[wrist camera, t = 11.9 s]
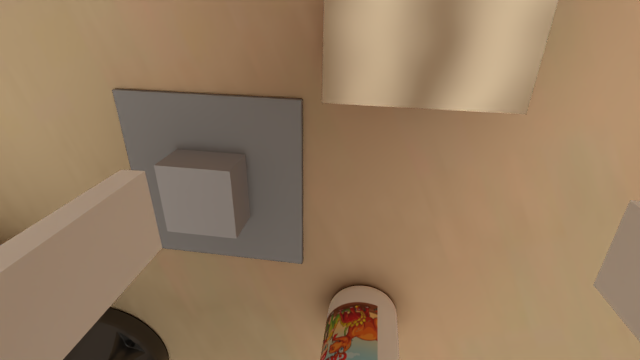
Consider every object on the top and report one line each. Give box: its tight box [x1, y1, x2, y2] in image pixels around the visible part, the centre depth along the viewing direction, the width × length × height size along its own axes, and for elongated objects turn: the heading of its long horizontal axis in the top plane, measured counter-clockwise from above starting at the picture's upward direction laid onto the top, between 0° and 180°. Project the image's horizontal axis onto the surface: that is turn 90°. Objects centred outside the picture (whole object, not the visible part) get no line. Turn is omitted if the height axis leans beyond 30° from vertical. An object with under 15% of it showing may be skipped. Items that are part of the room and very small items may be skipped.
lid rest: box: [112, 89, 303, 264], centre depth 34 cm, size 18×18×4 cm
